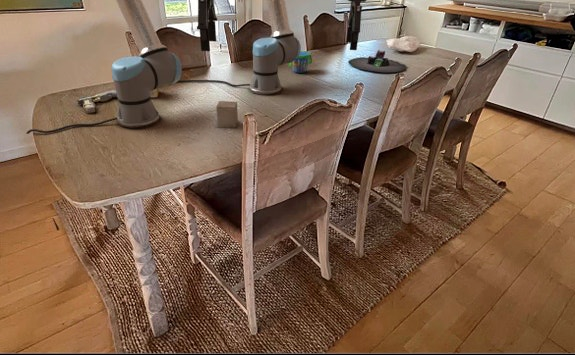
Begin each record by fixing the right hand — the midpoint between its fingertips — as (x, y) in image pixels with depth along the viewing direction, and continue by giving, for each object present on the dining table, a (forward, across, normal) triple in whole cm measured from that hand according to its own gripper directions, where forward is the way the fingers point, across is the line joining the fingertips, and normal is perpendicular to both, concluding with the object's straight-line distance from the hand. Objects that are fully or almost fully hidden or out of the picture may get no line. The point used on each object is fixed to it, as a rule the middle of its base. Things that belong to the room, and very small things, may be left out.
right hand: (351, 46), depth 154 cm
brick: (+25, -29, +49) cm, 62 cm away
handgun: (+25, -14, +106) cm, 109 cm away
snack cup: (+25, +45, +20) cm, 56 cm away
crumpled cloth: (+25, +108, -52) cm, 123 cm away
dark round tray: (+25, +65, -27) cm, 75 cm away
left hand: (-6, -34, +53) cm, 63 cm away
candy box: (+25, -1, +88) cm, 91 cm away
